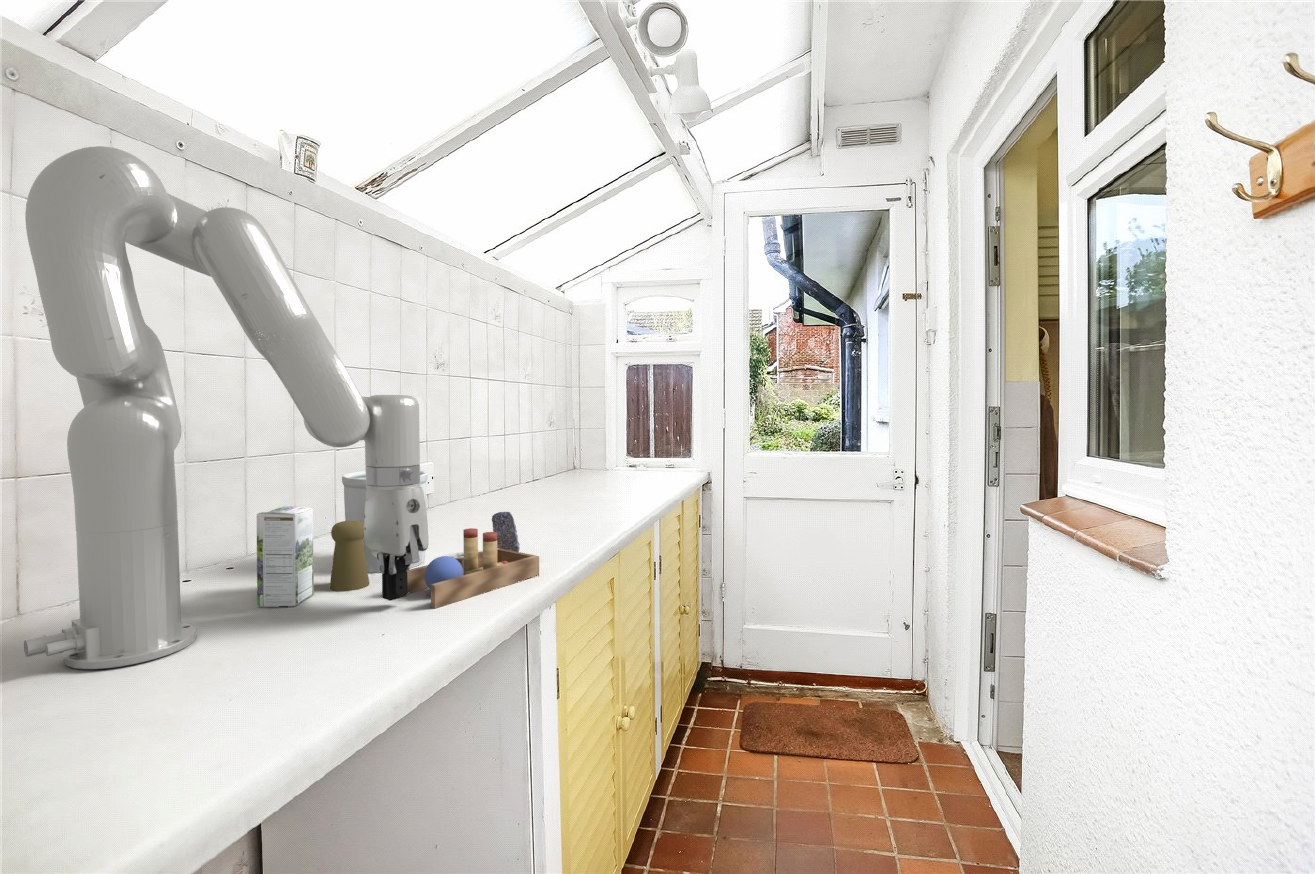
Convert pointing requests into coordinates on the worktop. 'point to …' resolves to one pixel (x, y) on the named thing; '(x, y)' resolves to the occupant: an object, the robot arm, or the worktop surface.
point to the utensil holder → (356, 508)
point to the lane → (477, 577)
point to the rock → (505, 531)
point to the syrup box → (284, 556)
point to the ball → (442, 570)
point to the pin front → (482, 568)
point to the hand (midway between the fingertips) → (395, 597)
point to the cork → (348, 557)
